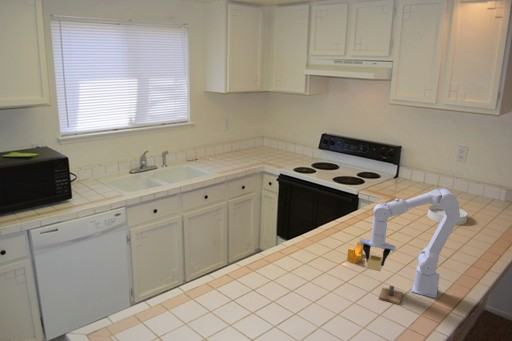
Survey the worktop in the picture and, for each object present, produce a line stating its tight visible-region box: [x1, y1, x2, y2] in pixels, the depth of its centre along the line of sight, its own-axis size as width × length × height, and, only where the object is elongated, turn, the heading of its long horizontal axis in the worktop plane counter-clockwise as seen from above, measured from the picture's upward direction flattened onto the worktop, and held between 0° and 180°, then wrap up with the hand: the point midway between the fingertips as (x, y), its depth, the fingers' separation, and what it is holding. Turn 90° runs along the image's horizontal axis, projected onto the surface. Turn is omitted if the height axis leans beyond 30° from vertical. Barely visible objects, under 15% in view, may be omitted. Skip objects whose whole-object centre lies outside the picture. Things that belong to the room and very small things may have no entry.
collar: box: [366, 253, 383, 272], centre depth 182 cm, size 6×6×4 cm
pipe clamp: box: [346, 240, 364, 265], centre depth 207 cm, size 12×4×6 cm, turn 143°
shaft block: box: [378, 285, 403, 305], centre depth 174 cm, size 8×8×4 cm
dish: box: [426, 204, 468, 226], centre depth 265 cm, size 22×22×5 cm
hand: (375, 263), depth 182 cm, fingers closed on collar, 6 cm apart
